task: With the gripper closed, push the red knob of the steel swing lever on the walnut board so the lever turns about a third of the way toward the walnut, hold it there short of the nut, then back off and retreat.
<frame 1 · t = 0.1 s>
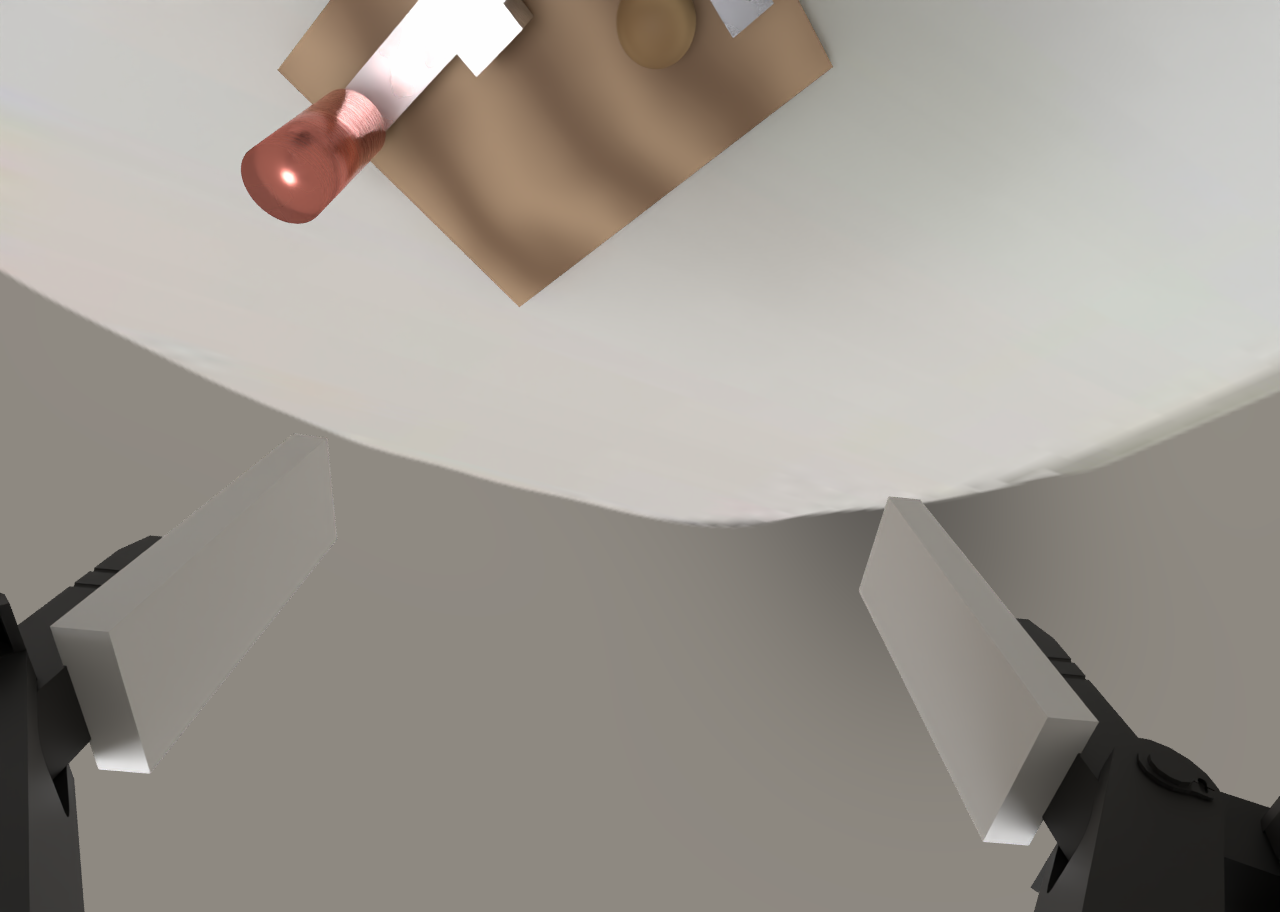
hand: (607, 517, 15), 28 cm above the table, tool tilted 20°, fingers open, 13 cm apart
lever: (430, 28, 27), point 7 cm above the table, hinge at 0.0°
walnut: (656, 22, 29), point 3 cm above the table, touching board
board: (554, 61, 33), on the table
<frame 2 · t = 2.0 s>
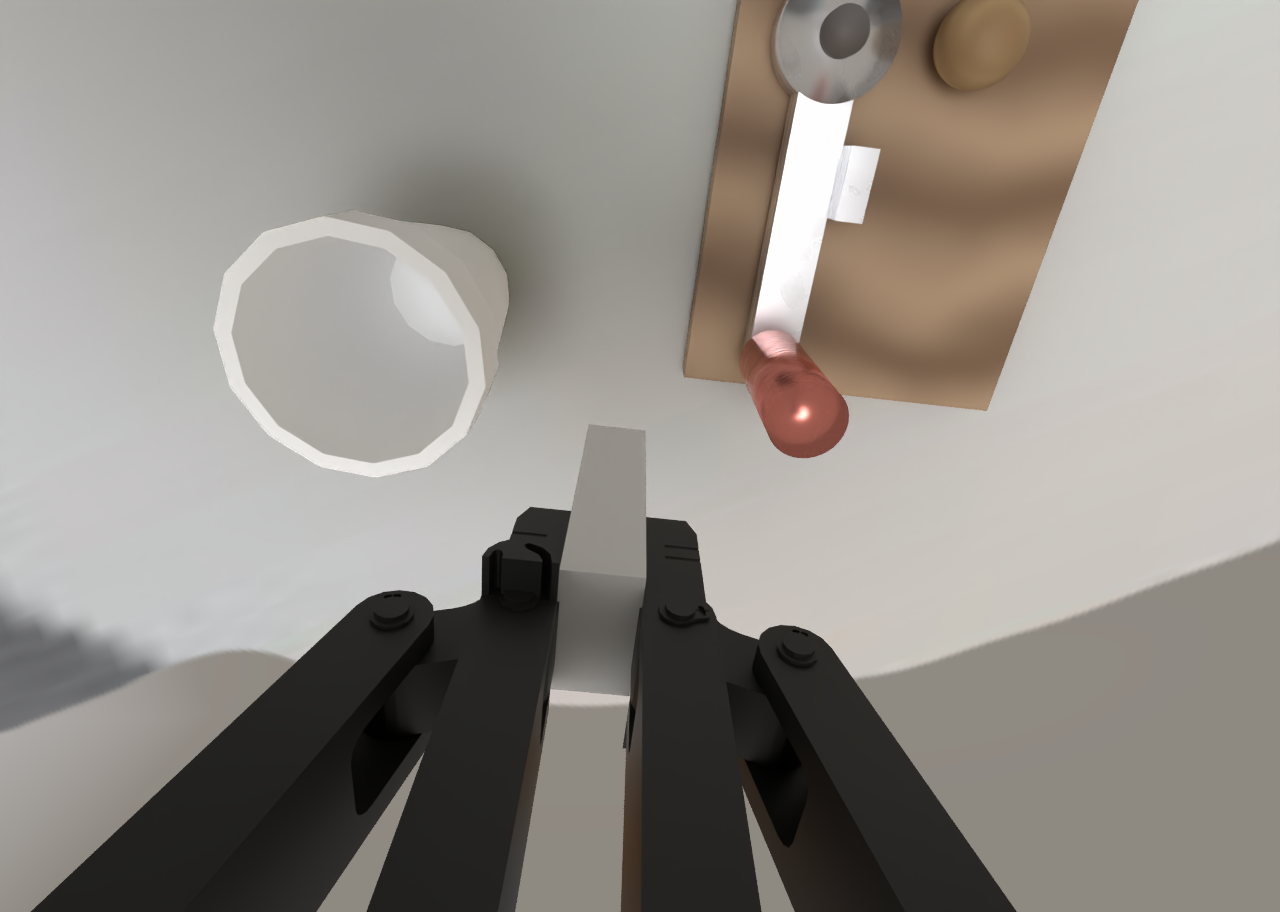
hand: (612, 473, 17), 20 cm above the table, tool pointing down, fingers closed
foam cup: (451, 287, 35), on the table
lever: (820, 209, 27), point 7 cm above the table, hinge at 0.0°
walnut: (980, 41, 27), point 3 cm above the table, touching board
board: (882, 176, 32), on the table
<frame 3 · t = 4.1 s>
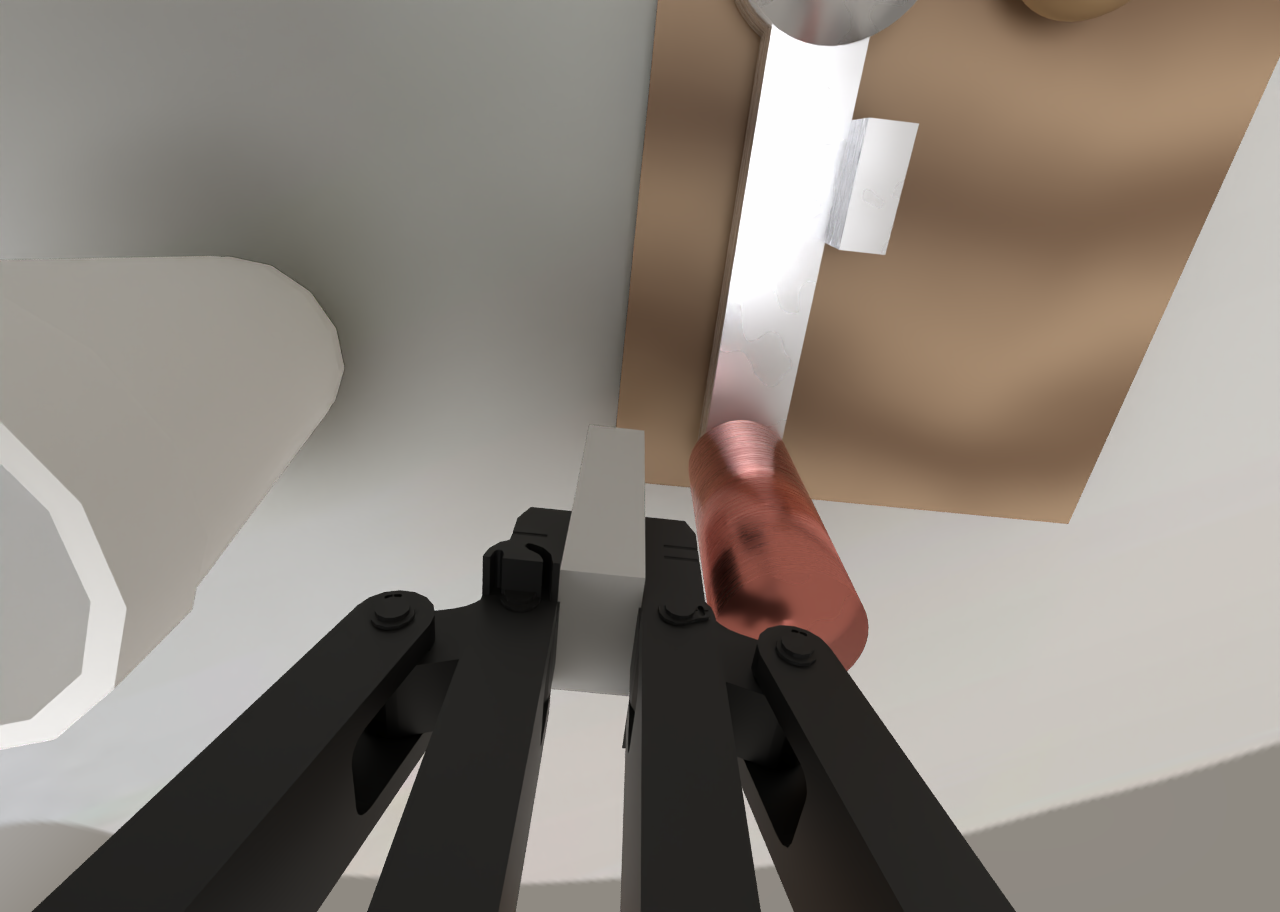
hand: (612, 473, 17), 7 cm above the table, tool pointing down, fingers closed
foam cup: (256, 347, 23), on the table
lever: (812, 233, 15), point 7 cm above the table, hinge at 0.1°, touching gripper
board: (913, 173, 20), on the table
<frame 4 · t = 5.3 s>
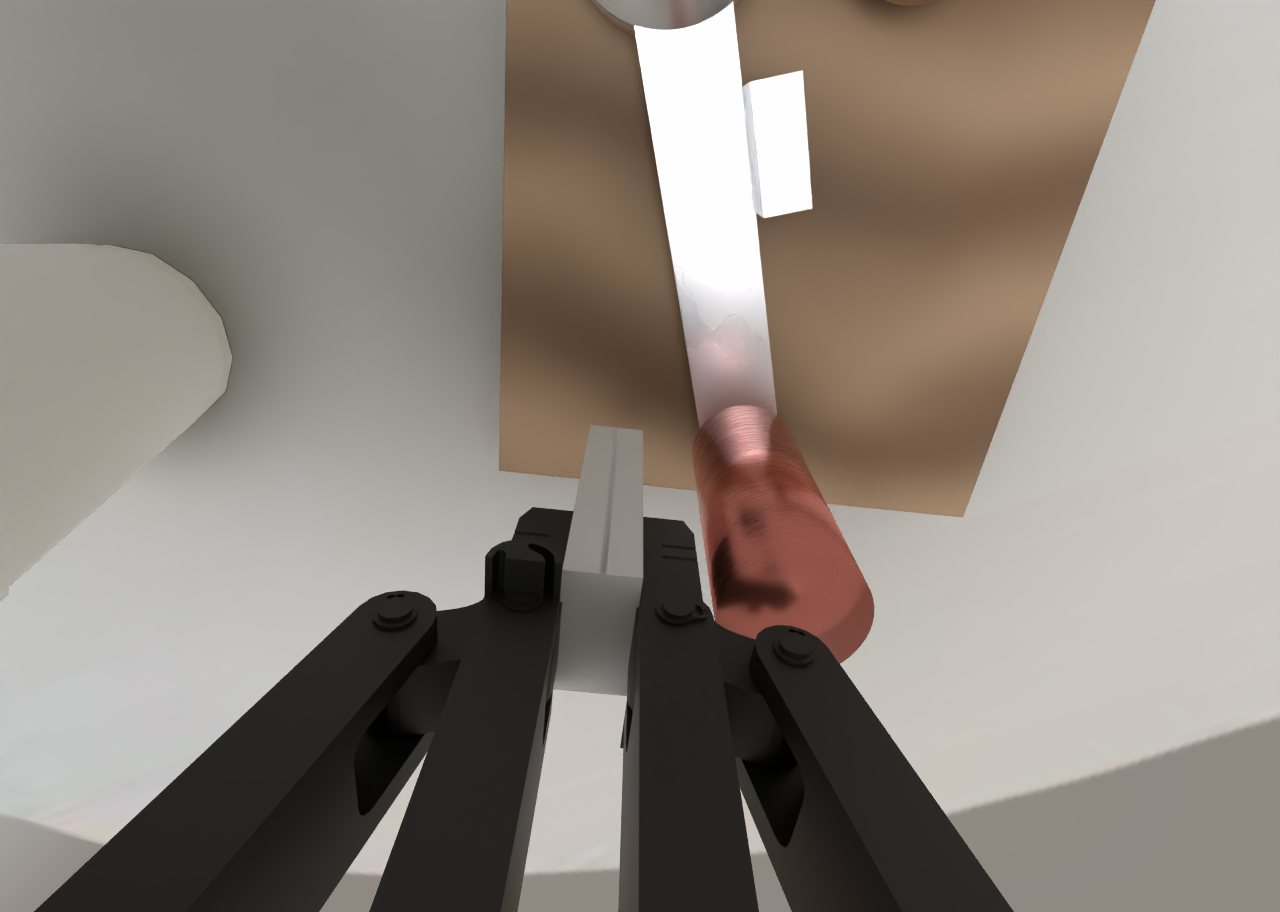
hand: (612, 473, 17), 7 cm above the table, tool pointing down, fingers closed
foam cup: (144, 336, 23), on the table
lever: (720, 214, 14), point 7 cm above the table, hinge at 16.9°, touching gripper
board: (787, 162, 20), on the table
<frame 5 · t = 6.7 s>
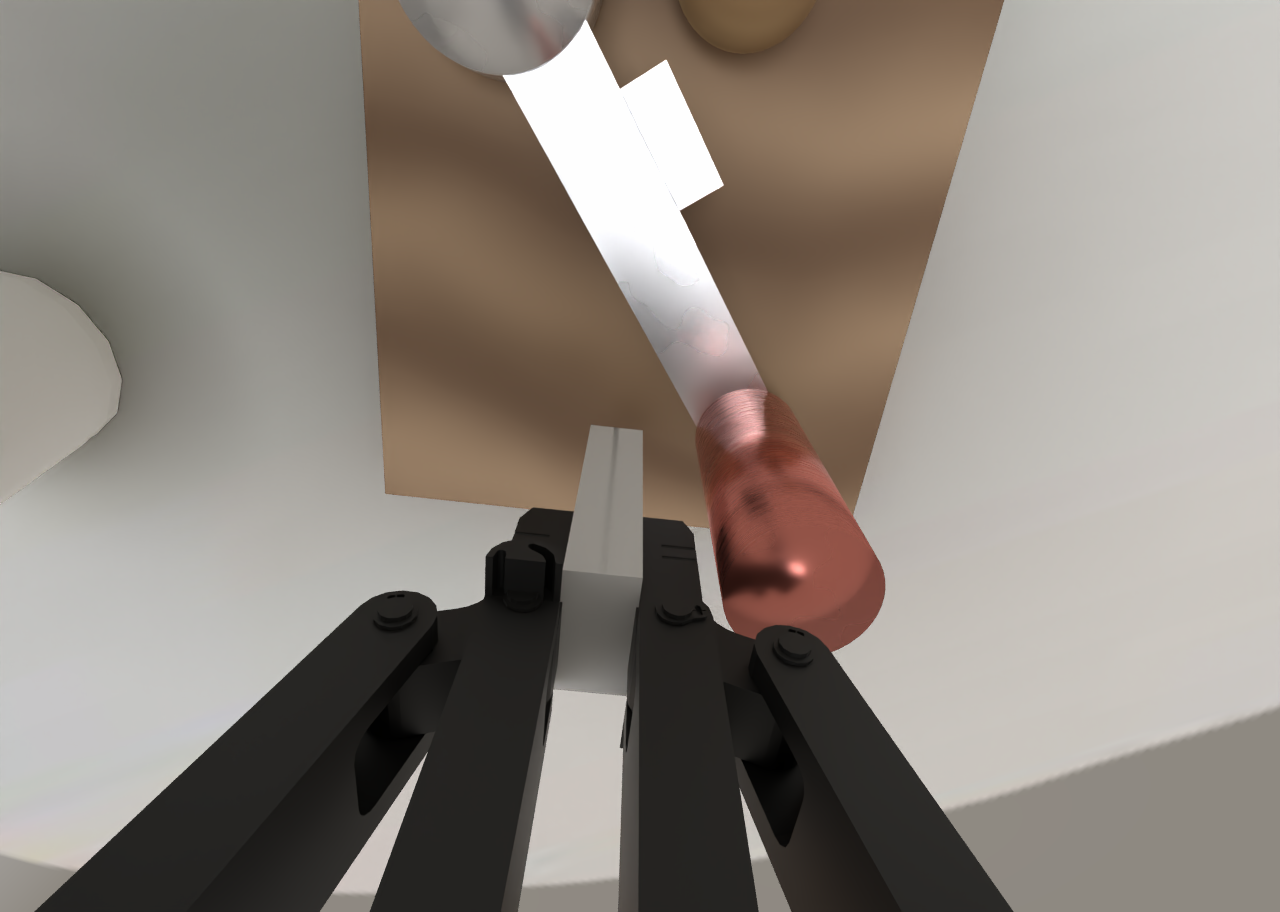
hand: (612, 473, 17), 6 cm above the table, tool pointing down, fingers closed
foam cup: (34, 359, 23), on the table
lever: (626, 224, 15), point 7 cm above the table, hinge at 35.4°, touching gripper
board: (655, 196, 21), on the table
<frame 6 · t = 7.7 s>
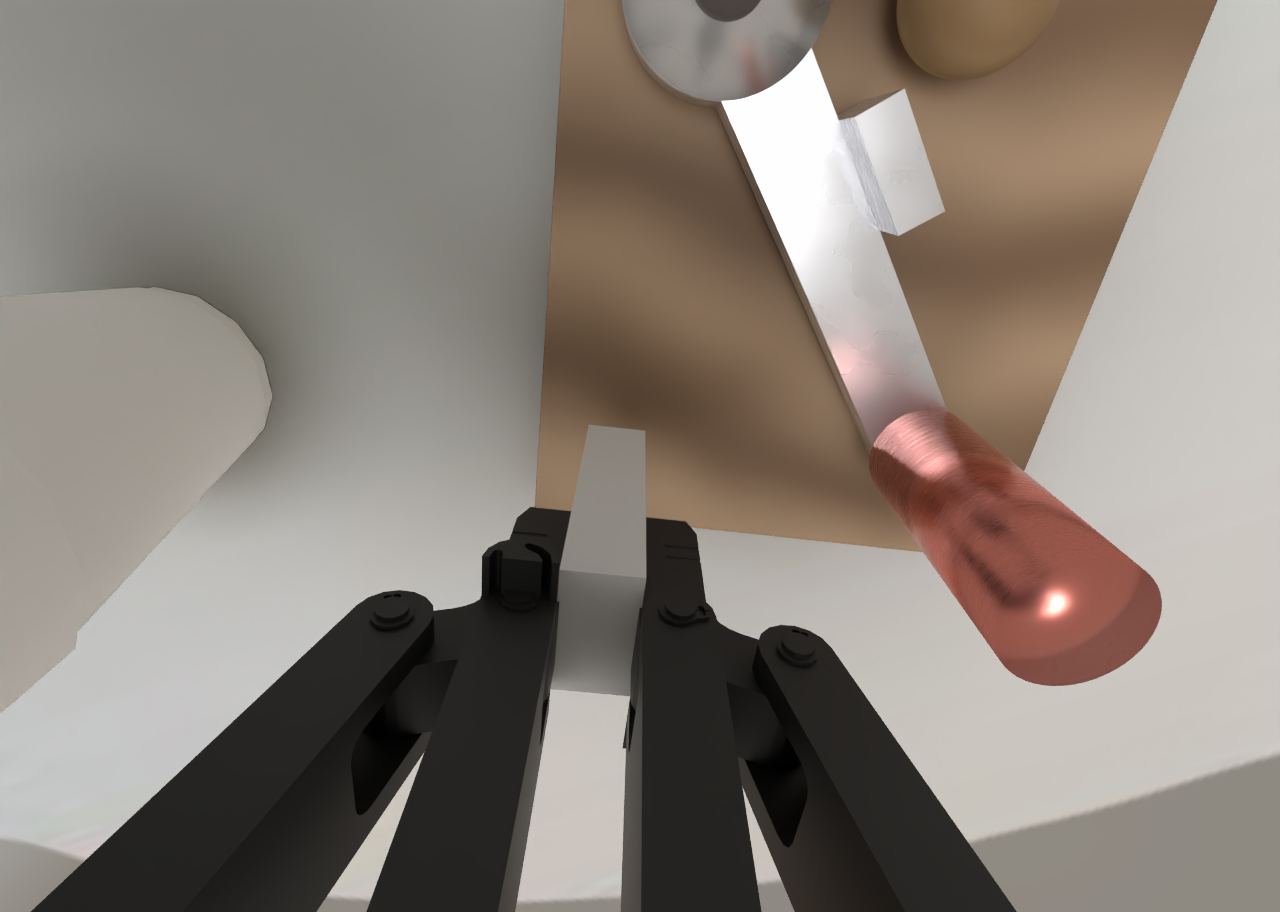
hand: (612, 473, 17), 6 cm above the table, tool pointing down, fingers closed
foam cup: (185, 375, 23), on the table
lever: (867, 252, 15), point 7 cm above the table, hinge at 35.6°
board: (825, 217, 21), on the table
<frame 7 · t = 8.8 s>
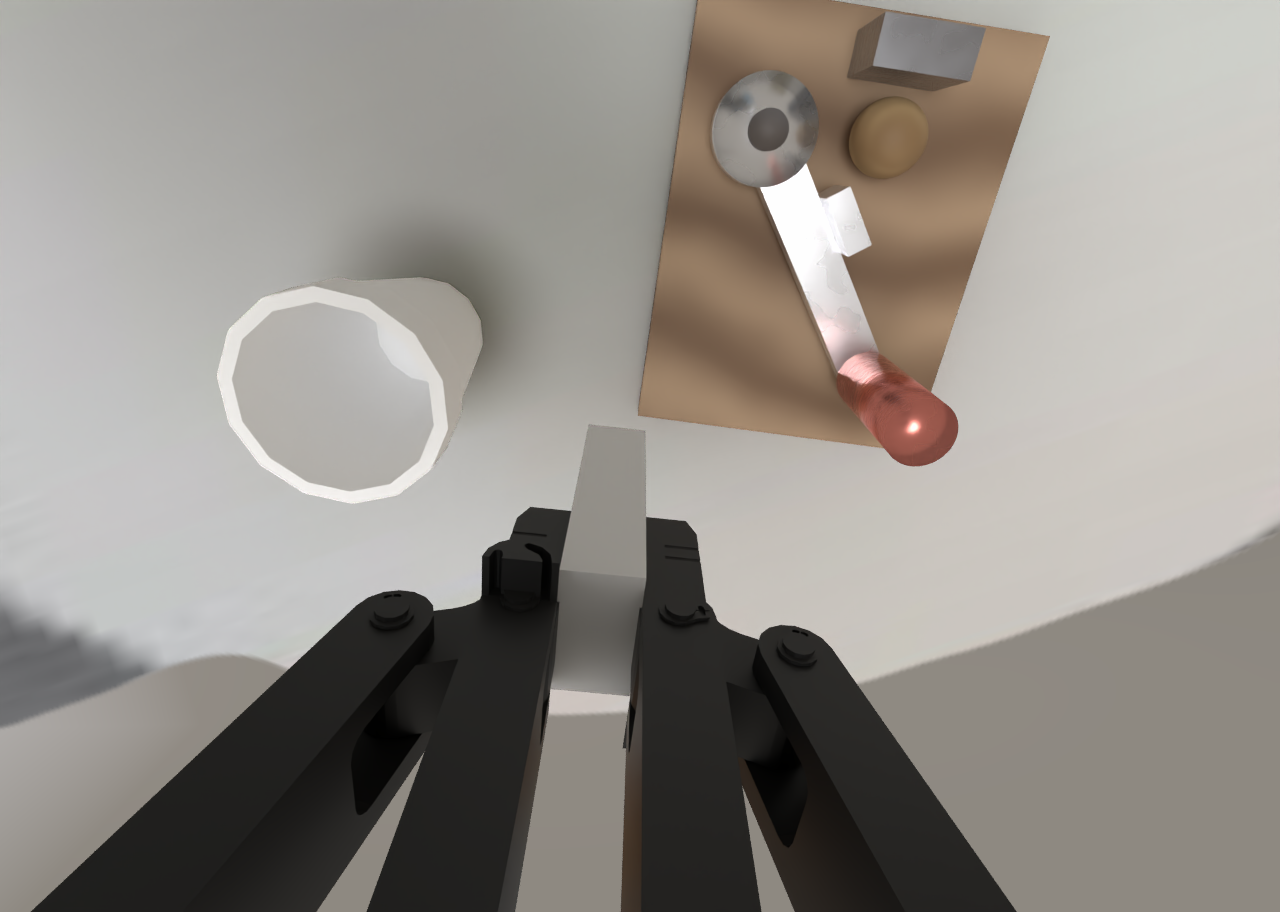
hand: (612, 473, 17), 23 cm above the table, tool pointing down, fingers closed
foam cup: (431, 330, 39), on the table
lever: (831, 264, 30), point 7 cm above the table, hinge at 35.6°
two-tone textured tile: (896, 61, 31), resting on board
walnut: (887, 138, 31), point 3 cm above the table, touching board
board: (813, 244, 36), on the table
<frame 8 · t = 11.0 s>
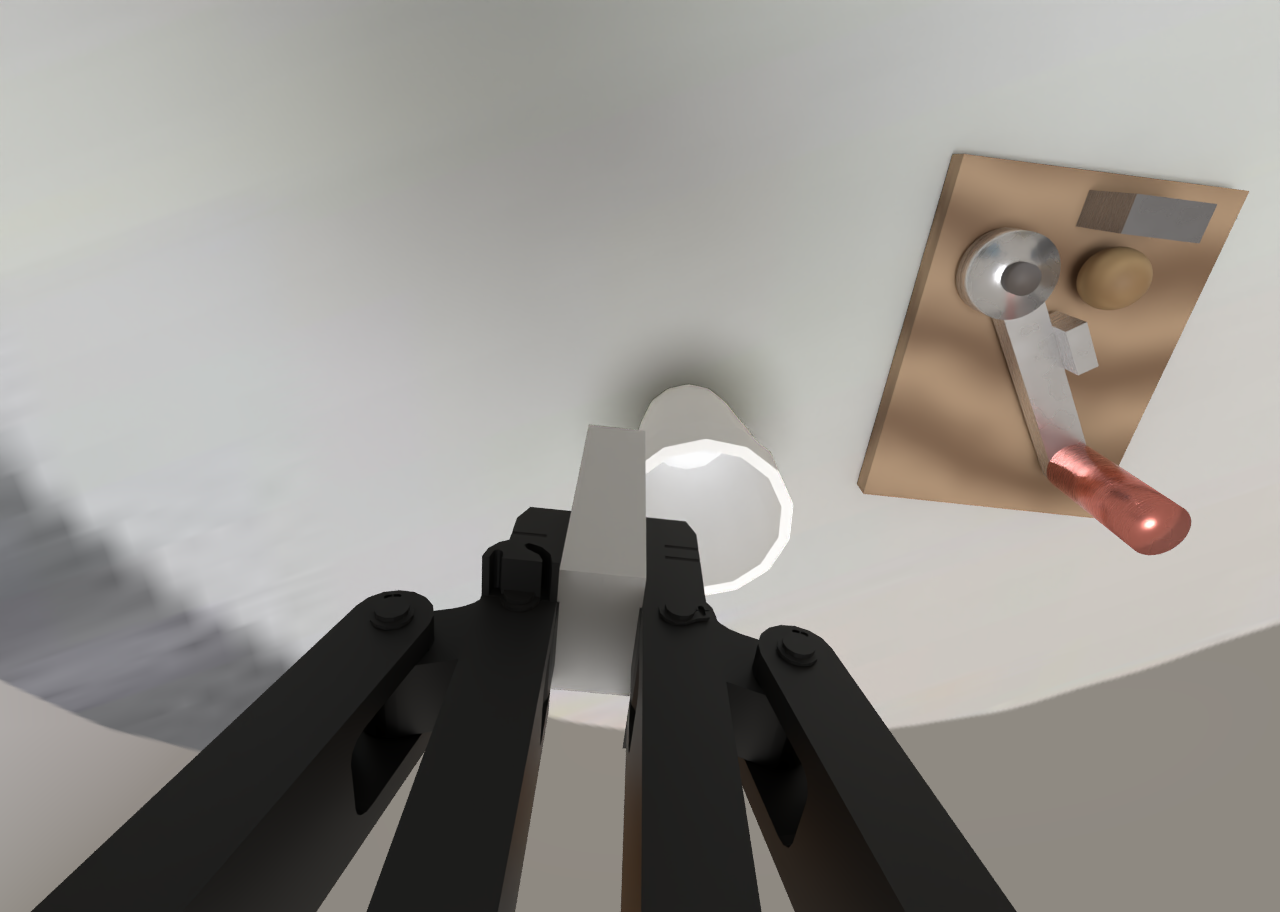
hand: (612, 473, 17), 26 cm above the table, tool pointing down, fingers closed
foam cup: (686, 425, 46), on the table
lever: (1073, 387, 37), point 7 cm above the table, hinge at 35.6°
two-tone textured tile: (1118, 212, 38), resting on board
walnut: (1113, 278, 38), point 3 cm above the table, touching board
board: (1024, 351, 43), on the table
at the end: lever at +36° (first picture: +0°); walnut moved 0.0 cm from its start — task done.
